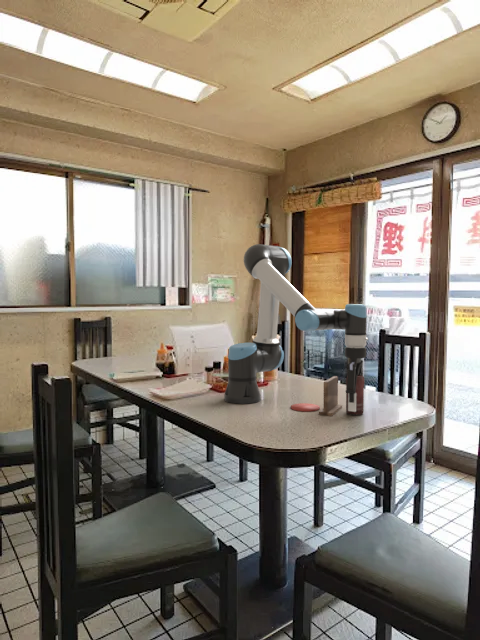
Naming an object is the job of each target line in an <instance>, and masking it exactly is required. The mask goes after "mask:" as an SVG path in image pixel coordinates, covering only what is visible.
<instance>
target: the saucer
mask: <svg viewBox="0 0 480 640" xmlns="http://www.w3.org/2000/svg"><path fill="white" fill-rule="evenodd" d="M320 408H321V407H320V405H318V404H315V403H307V402H306V403H305V402H304V403H303V402H302V403H300V402H299V403H293V404H291V405H290V409H292V410H293V411H296V412H297V411H298V412H302V413H303V412H304V413H305V412H309V413H311V412H317V411H320V410H321V409H320Z"/></svg>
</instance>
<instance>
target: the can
mask: <svg viewBox="0 0 480 640" xmlns="http://www.w3.org/2000/svg"><path fill="white" fill-rule="evenodd" d="M347 376H348V374H347ZM347 376H346V383H345V387H346V388H345V391H346V390H347ZM364 389H365V377H364V375H363V376H362V375H358V376H357V382H356V412H353V411H348V393H346V392H345V394H346V395H345V398H346V399H345V400H346V401H345V404H346V405H345V412H346V414H347V415H348V416H356V417H357V416H362V415H363V414H364V407H365V406H364V401H365V400H364V397H365V395H364V391H365V390H364Z"/></svg>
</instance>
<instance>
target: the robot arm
mask: <svg viewBox="0 0 480 640" xmlns="http://www.w3.org/2000/svg"><path fill="white" fill-rule="evenodd" d="M292 263H293V262H292V257H291V254H290V252H289V251H288V250H287V249H286V248H284V247H281V246H278V245H270V244H269V245H267V244H262V243H261V244H260V243H257V244H253V245H250V247H248V248H247V249H246V251H245V252H244V256H243V265H244V267H245V269H246V271H247V272H248V274H250V276H251V277H252V278H254V279H257V280H259V282H260V291H259V292H260V293H259V300H258V302H259V303H258V313H257V314H258V316H257V317H258V318H257V326H256V328H257V330H256V336H255V337H254V338H253V339H252V342H243V343H242V342H240V343H235V344H232V345H231V346H230V347H229V348H228V355H227V360H228V361H227V362H228V363H227V365H228V370H227V371H228V372H227V373H228V380H227V381H228V382H227V386H226V388H225V391H224V394H223V395H224V398H223V400H224V401H225V402H226V401H227V402H226V403H231V404H236V405H237V404H238V405H240V404H241V405H243V404H255V403H259V402H260V401H261V399H262V397H261V391H260V388H259V385H258V383H257V374H259V373H263V372H271V371H274V370H277V369H278V368H280V366H282V364H283V362H284V359H285V358H284V357H285V353H284V350H283V347H282V346H281V345H280V340H279V339H278V338H277V337H278V336H277V335H278V325H279V312H280V311H279V310H280V303H281V304H282V305H283V306H284V307H285V309H287V311H288V312H289V313H290V314H292V316H293V317H294V321H295V325H296V327H297V328H298V330H300V331H302V332H314V331H326V330H328V331H329V330H343V331H344V345H345V346H346V347H344V357H345V358H347V359H349V360H350V362H348V364H347V375H348V376H346V378H347V390H346V389H345V394H346V393H348V411H353V412H356V382H357V376H358V375H362V376H363V377H364V370H363V369H364V368H363V366H364V361H363V359H365V358H366V357H367V347H366V346H367V341H368V340H369V338H368V337H367V320H368V319H367V317H368V315H367V306H366V305H365V304H364V303H362V304H361V303H360V304H358V303H356V304H354V303H348V304H345V306H344V309H336V308H333V309H332V308H324V309H322V308H321V309H317V308H316V307H314V306H313V305H312V304H311V303H310V302H309V301H308V300H307V298H305V297H304V296H303V294H301V292H299V291H298V290H297V288H295V287H294V286H293V285H292V284H291V283H290V282H289V281H288V280H287V279H286V274H287V273H288V272H289V271H290V270H291V267H292Z"/></svg>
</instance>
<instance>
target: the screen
mask: <svg viewBox="0 0 480 640" xmlns="http://www.w3.org/2000/svg"><path fill="white" fill-rule="evenodd" d="M338 392H339V376H337V375H333V376H332V377H330V378H328V379H326V380H324V381H323V408H321V409H319V410H318V415H320V416H330V417H333V416H335V414H336V413H338V412H339V411H340V410H342V409H343V405H342V404H339V402H338V401H339V400H338V399H339V393H338Z"/></svg>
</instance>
